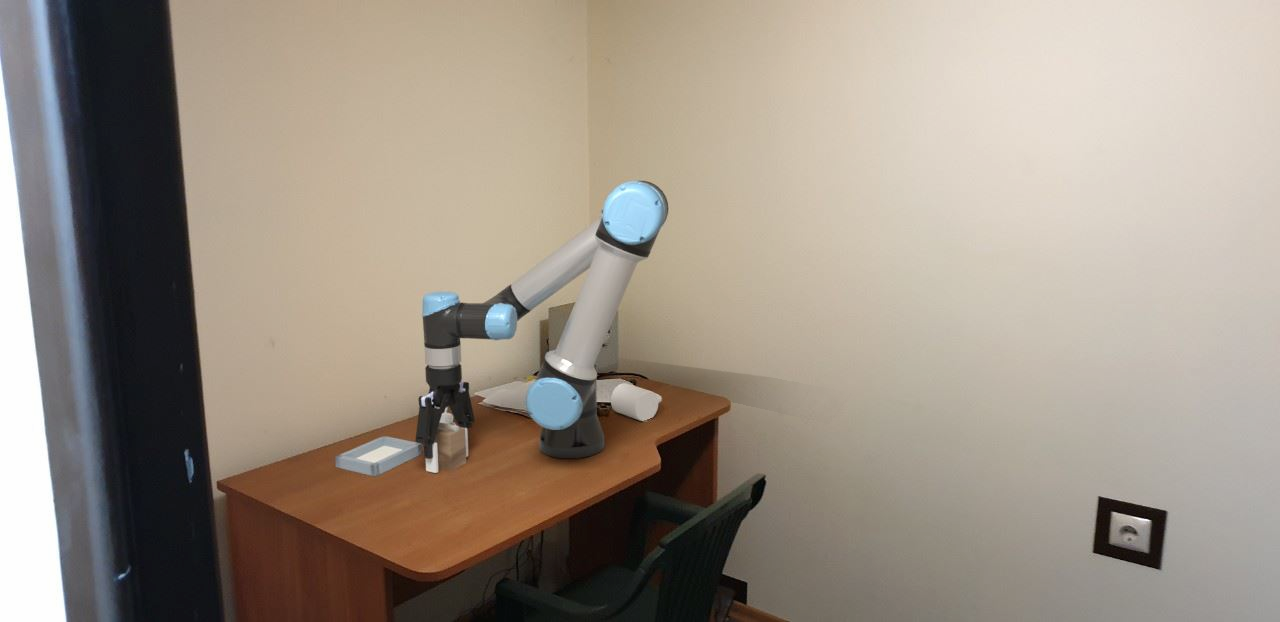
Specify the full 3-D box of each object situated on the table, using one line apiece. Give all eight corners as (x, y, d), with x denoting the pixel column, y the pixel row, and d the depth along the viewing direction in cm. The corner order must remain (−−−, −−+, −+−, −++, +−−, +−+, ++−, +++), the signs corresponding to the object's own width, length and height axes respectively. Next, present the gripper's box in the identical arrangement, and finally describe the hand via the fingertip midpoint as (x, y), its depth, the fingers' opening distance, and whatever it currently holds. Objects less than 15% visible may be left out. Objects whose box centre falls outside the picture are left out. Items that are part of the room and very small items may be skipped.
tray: (422, 453, 175) (421, 443, 174) (375, 476, 162) (374, 465, 162) (384, 445, 180) (383, 435, 179) (335, 467, 167) (335, 456, 167)
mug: (635, 424, 195) (635, 394, 193) (610, 415, 202) (610, 386, 200) (669, 414, 203) (670, 385, 201) (644, 405, 210) (644, 377, 208)
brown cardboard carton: (466, 462, 170) (464, 423, 168) (451, 470, 165) (449, 430, 164) (445, 458, 172) (443, 419, 171) (429, 465, 168) (427, 425, 166)
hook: (463, 400, 197) (465, 391, 191) (455, 445, 192) (457, 438, 186) (433, 395, 196) (435, 387, 189) (424, 441, 190) (426, 434, 184)
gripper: (462, 351, 176) (466, 444, 180) (392, 374, 156) (398, 478, 161) (489, 354, 173) (492, 449, 177) (421, 379, 153) (426, 485, 158)
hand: (447, 463), depth 169 cm, fingers open, 9 cm apart
